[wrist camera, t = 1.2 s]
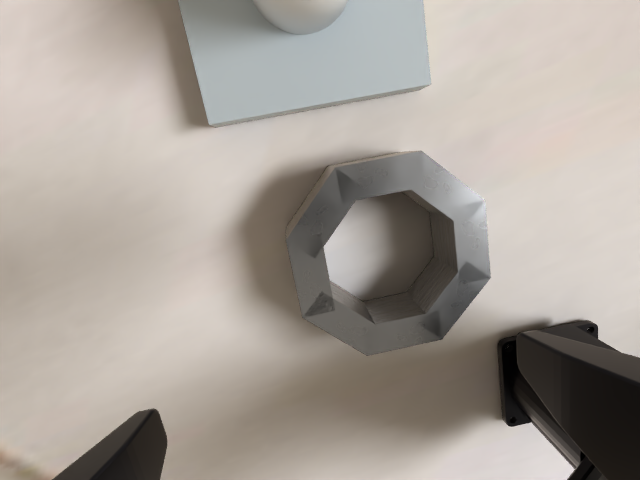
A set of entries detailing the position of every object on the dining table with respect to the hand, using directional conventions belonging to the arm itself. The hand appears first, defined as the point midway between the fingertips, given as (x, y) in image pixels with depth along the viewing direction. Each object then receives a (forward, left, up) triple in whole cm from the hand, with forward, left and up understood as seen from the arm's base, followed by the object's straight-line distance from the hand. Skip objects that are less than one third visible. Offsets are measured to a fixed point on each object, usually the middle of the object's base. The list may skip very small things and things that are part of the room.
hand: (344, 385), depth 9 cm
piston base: (+13, -2, -12) cm, 18 cm away
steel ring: (0, -4, -12) cm, 13 cm away
